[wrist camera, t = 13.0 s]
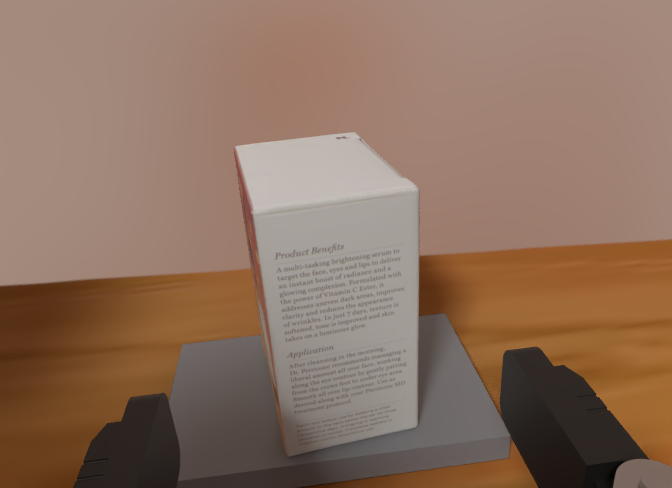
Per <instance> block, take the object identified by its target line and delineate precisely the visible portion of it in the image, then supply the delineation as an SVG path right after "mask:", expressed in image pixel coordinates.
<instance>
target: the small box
mask: <svg viewBox="0 0 672 488" xmlns="http://www.w3.org/2000/svg"><path fill="white" fill-rule="evenodd" d="M234 155H235V161H236V168H237V175H238V182H239V190H240V197H241V203H242V210H243V217H244V223H245V230H246V237H247V243H248V250H249V257H250V263H251V271H252V278H253V285H254V292H255V298H256V305H257V312H258V319H259V325H260V331H261V339H262V345H263V348H264V353H265V356H266V360H267V364H268V368H269V373H270V378H271V384H272V389H273V394H274V399H275V404H276V410H277V415H278V420H279V425H280V430H281V435H282V440H283V445H284V450H285V454H286V455H287V456H289V457H291V456H295V455H299V454H303V453H307V452H311V451H316V450H320V449H324V448H328V447H332V446H337V445H341V444H346V443H350V442H355V441H359V440H363V439H368V438H372V437H377V436H381V435H386V434H390V433H395V432H399V431H403V430H408V429H412V428H415V427H417V425H418V339H419V226H420V216H419V215H420V214H419V213H420V212H419V209H420V190H419V188H418V187H417V186H416V185H415V184H414V183H412V182H411V181H410V180H409V179H406V178H404V177H403V176H402V175H401V174H399V173H398V172H397V171H396V170H395V169H394V168H393V167H391V166H390V165H389V164H388V163H387V162H386V161H385V160H384V159H382V158H381V157H380V156H379V155H378V154H377V153H376V152H375V151H373V150H372V149H371V148H370V147H369V146H368V145H367V144H366V143H365V142H364V141H363V140H362V138H361V137H360V136H359V135H358V134H357V133H343V134H334V135H325V136H317V137H308V138H299V139H291V140H282V141H275V142H266V143H256V144H248V145H241V146H236V147H234Z"/></svg>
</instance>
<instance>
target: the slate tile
mask: <svg viewBox="0 0 672 488" xmlns="http://www.w3.org/2000/svg"><path fill="white" fill-rule="evenodd" d="M169 406H170V410H171V414H172V417H173V421H174V425H175V429H176V433H177V437H178V441H179V446H180V471H179V477H178V482H177V488H298V487H305V486H312V485H319V484H326V483H334V482H341V481H348V480H355V479H362V478H369V477H377V476H384V475H391V474H398V473H405V472H412V471H420V470H427V469H434V468H441V467H448V466H455V465H463V464H470V463H477V462H484V461H491V460H498V459H506V458H509V451H510V440H511V436H510V434H509V432H508V430H507V428H506V426H505V424H504V422H503V420H502V418H501V416H500V414H499V413H498V411H497V409H496V407H495V405H494V403H493V401H492V400H491V398H490V396H489V394H488V392H487V390H486V388H485V387H484V385H483V383H482V381H481V379H480V377H479V375H478V374H477V372H476V370H475V368H474V366H473V364H472V362H471V361H470V359H469V357H468V355H467V353H466V351H465V349H464V348H463V346H462V344H461V342H460V340H459V338H458V336H457V335H456V333H455V331H454V329H453V327H452V325H451V323H450V322H449V320H448V318H447V316H446V314H445V313H442V314H433V315H425V316H419V339H418V425H417V427H415V428H412V429H408V430H403V431H399V432H395V433H390V434H386V435H381V436H377V437H372V438H368V439H363V440H359V441H355V442H350V443H346V444H341V445H337V446H332V447H328V448H324V449H320V450H316V451H311V452H307V453H303V454H299V455H295V456H291V457H289V456H287V455H286V454H285V450H284V445H283V440H282V435H281V430H280V425H279V420H278V415H277V410H276V404H275V399H274V394H273V389H272V384H271V378H270V373H269V368H268V364H267V360H266V356H265V353H264V348H263V345H262V339H261V335H257V336H249V337H240V338H232V339H224V340H215V341H207V342H199V343H190V344H182V348H181V352H180V357H179V361H178V365H177V369H176V373H175V377H174V382H173V386H172V390H171V394H170V398H169Z"/></svg>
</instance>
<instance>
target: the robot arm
mask: <svg viewBox="0 0 672 488" xmlns="http://www.w3.org/2000/svg"><path fill="white" fill-rule="evenodd" d="M500 408H501V414H502V418H503V421H504V424H505V426H506V428H507V430H508V432H509V434H510V436H511V437H512V439H513V441H514V443H515V445H516V447H517V449H518V450H519V452H520V454H521V456H522V458H523V460H524V461H525V463H526V465H527V467H528V469H529V471H530V473H531V474H532V476H533V478H534V480H535V482H536V484H537V485H538V487H539V488H672V467H670V466H668V465H666V464H663V463H660V462H657V461H653V460H649V459H648V457H647V456H646V455H645V454H644V452H643V451H642V450H641V449H640V448H639V446H638V445H637V444H636V443H635V441H634V440H633V439H632V438H631V436H630V435H629V434H628V433H627V431H626V430H625V429H624V428H623V427H622V425H621V424H620V423H619V422H618V420H617V419H616V418H615V417H614V415H613V414H612V413H611V412H610V410H609V411H608V410H607V407H606V406H605V404H604V403H603V402H602V401H601V399H600V398H599V397H597V396H596V393H595V392H594V391H593V389H592V388H591V387H590V386H589V384H588V383H587V382H586V381H585V380H584V378H583V377H581V376H579V375H578V374H576V373H575V372H573V371H572V370H570V369H569V368H567V367H566V366H564V365H560V366H553V365H552V363H551V362H550V361H549V359H548V358H547V357H546V356H545V354H544V353H543V352H542V350H541V349H540V348H538V347H530V348H522V349H514V350H507V351H505V353H504V356H503V366H502V380H501V394H500ZM83 462H84V465H82V467H81V469H80V472H79V474H78V477H77V482H75V484H74V487H73V488H177V482H178V477H179V471H180V446H179V441H178V437H177V433H176V429H175V425H174V421H173V417H172V414H171V410H170V406H169V402H168V398H167V396H166V394H165V393H160V394H152V395H144V396H136V397H131V398H130V399H129V401H128V404H127V407H126V410H125V412H124V415H123V418H122V421H121V422H114V423H107V424H106V426H105V427H104V428H103V429H102V430H101V431H100V432H99V433H98V435H97V436H96V437H95V438H94V439H93V440H92V441H91V444H90V446H89V449H88V451H87V454H86V456H85V459H84V461H83Z"/></svg>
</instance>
